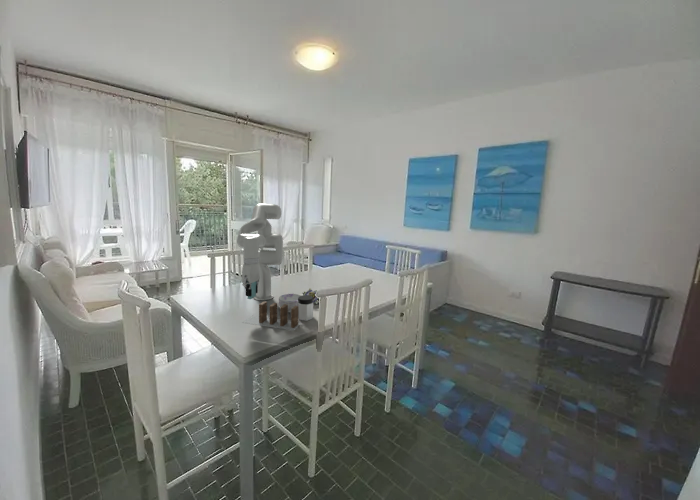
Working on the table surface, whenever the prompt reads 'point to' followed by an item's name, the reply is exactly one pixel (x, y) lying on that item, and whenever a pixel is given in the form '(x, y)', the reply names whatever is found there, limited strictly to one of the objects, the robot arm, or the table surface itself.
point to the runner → (255, 321)
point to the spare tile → (253, 287)
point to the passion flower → (312, 293)
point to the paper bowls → (289, 300)
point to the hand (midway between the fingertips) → (251, 293)
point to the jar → (305, 307)
